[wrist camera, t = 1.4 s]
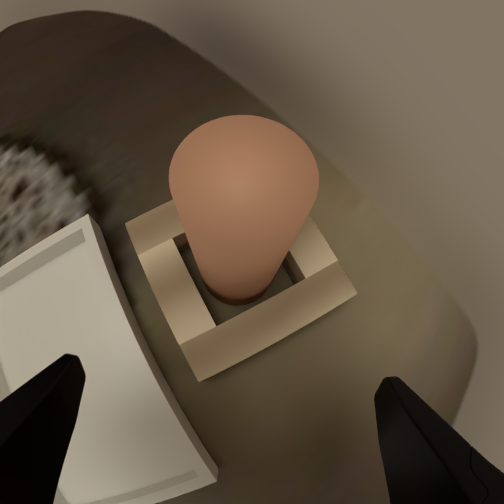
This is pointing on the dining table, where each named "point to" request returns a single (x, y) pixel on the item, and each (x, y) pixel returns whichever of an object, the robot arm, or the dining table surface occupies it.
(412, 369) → the dining table surface
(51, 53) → the dining table surface
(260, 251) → the dowel
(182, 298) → the holder
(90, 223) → the tray
